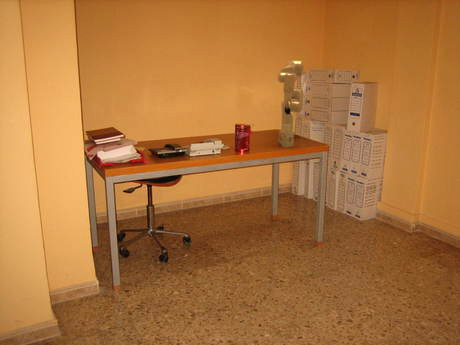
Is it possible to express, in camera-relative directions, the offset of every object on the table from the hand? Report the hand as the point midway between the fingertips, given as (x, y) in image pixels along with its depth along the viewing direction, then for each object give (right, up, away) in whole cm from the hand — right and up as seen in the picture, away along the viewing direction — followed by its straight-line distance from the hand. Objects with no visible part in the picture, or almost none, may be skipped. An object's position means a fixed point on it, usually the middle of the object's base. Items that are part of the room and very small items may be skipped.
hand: (287, 113), depth 330 cm
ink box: (0, -25, +6) cm, 26 cm away
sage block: (0, -13, +3) cm, 14 cm away
